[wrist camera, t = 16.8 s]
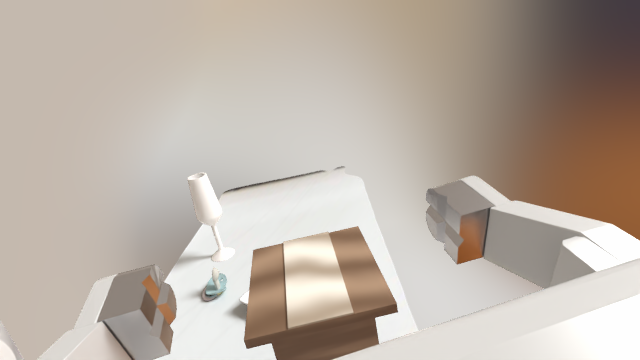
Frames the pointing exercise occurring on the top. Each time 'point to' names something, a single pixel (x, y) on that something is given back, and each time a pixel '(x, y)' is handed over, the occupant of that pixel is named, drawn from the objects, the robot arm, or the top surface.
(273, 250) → the stand
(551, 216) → the robot arm
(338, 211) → the top surface
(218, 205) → the champagne flute
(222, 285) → the pacifier
